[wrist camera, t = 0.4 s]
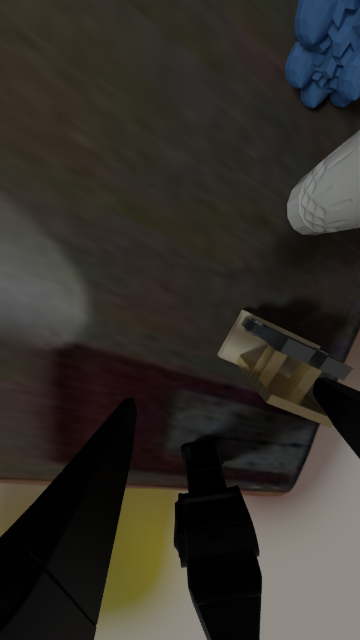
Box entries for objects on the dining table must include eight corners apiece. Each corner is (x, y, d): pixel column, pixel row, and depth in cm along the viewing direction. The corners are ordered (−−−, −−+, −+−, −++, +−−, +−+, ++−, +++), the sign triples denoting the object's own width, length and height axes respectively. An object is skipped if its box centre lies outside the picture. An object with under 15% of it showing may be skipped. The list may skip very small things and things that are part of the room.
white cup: (343, 233, 22) (478, 202, 12) (282, 247, 22) (370, 227, 12) (346, 159, 20) (511, 53, 10) (279, 175, 20) (380, 83, 10)
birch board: (288, 383, 27) (292, 387, 27) (217, 353, 25) (219, 357, 25) (315, 343, 26) (320, 346, 25) (242, 309, 24) (245, 310, 23)
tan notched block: (282, 380, 26) (329, 427, 18) (236, 361, 25) (266, 402, 17) (299, 355, 25) (357, 392, 17) (252, 334, 24) (292, 364, 16)
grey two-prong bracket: (309, 358, 25) (355, 386, 19) (239, 326, 23) (264, 346, 17) (317, 348, 25) (366, 373, 19) (246, 314, 23) (274, 330, 17)
